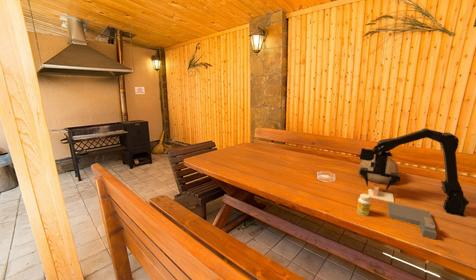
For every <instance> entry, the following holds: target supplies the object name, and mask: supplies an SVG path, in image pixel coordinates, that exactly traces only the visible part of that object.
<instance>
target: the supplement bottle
mask: <svg viewBox="0 0 476 280" xmlns="http://www.w3.org/2000/svg"><path fill="white" fill-rule="evenodd" d="M370 198H371V197H370V196H369V195H368V193H360V195H359V198H358V199H357V205H356V206H357V207H356V212H357V214H359V215H361V216H364V217H365V216H369V214H370V210H371V202H372V201H371V200H370Z"/></svg>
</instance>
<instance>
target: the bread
mask: <svg viewBox="0 0 476 280" xmlns="http://www.w3.org/2000/svg"><path fill="white" fill-rule="evenodd" d="M375 156H376V155H375V154H374V160H371V161H367V160H361V161H360V163H359V165H358V168H357V169H358V172H357V173H358V174H359V173H360V168H361V167H363V168H368V170H369V171H373V167H371V162H375ZM391 172H393V173H398V174H399V175H400V171H399V167H398V164H397V163H396V161H394V160H393V158H392V157H390V156H388V160H387V166H386V172H385V173H387V174H390V173H391ZM359 175H360V174H359ZM360 177H362V178H363V179H364V177H363V176H362V175H360ZM388 180H389V177H384V176H378V175H373V174H368V182H371V183H375V184H381V185H382V184H383V185H384V184H385V185H387V183H388ZM394 183H395V184H396V182H394ZM394 183H393V184H394Z"/></svg>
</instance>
